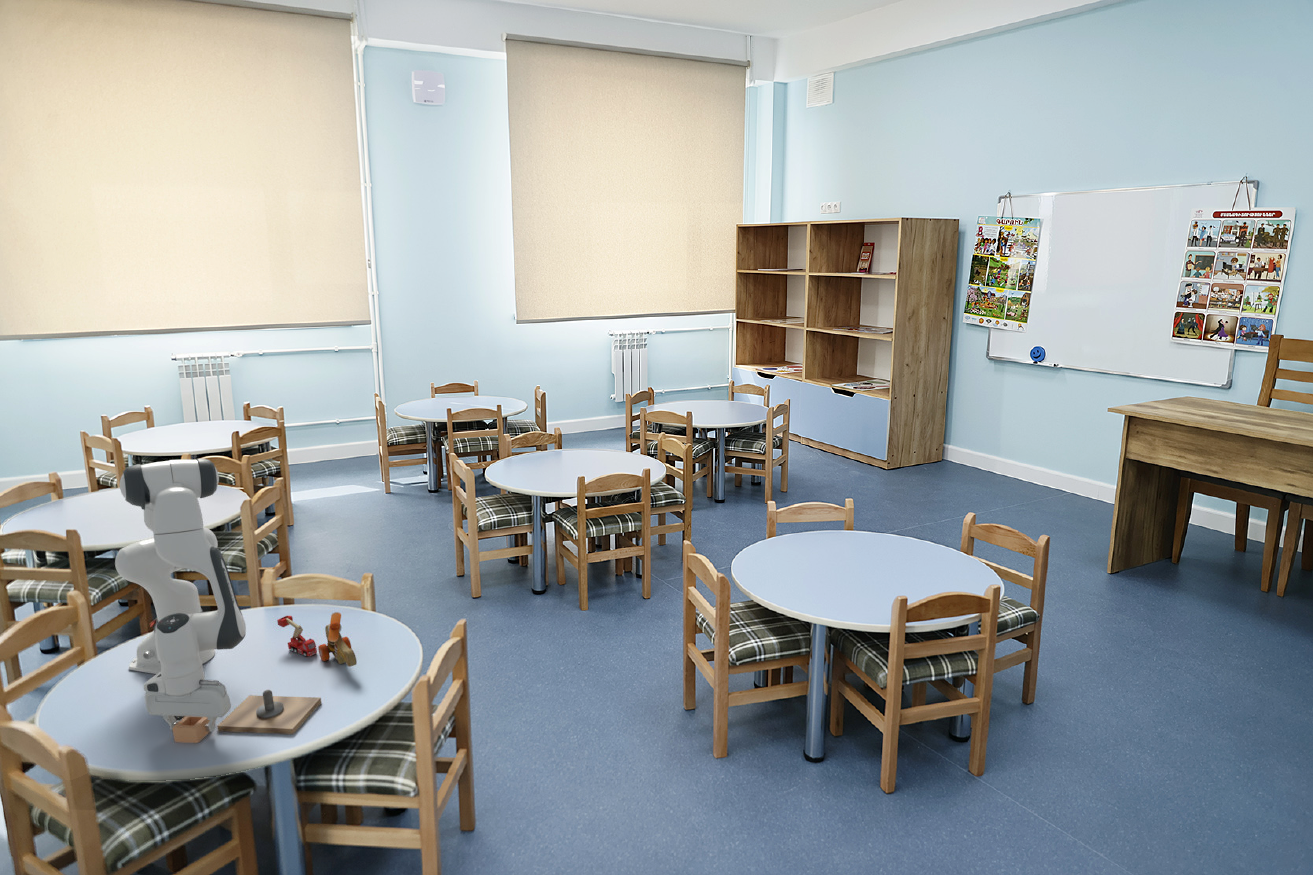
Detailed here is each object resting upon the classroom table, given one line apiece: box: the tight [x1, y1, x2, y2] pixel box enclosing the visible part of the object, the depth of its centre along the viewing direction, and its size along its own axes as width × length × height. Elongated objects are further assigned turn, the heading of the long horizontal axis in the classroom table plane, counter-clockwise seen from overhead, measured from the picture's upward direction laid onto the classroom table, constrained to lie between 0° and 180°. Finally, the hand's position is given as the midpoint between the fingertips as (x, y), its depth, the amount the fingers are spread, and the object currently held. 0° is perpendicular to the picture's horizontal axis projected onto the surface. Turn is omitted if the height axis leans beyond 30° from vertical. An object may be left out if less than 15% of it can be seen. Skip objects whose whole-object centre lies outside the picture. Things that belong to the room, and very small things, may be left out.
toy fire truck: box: [276, 615, 318, 657], centre depth 244 cm, size 3×14×10 cm, turn 58°
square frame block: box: [172, 716, 211, 744], centre depth 203 cm, size 6×6×4 cm
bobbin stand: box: [216, 689, 322, 735], centre depth 210 cm, size 20×14×8 cm
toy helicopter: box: [317, 611, 357, 668], centre depth 234 cm, size 8×21×14 cm, turn 39°
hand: (193, 729), depth 204 cm, fingers open, 8 cm apart
